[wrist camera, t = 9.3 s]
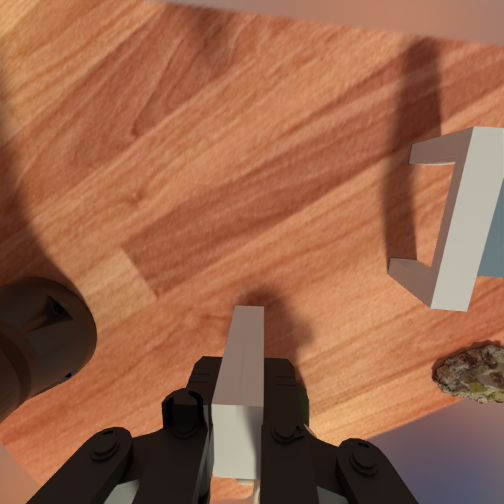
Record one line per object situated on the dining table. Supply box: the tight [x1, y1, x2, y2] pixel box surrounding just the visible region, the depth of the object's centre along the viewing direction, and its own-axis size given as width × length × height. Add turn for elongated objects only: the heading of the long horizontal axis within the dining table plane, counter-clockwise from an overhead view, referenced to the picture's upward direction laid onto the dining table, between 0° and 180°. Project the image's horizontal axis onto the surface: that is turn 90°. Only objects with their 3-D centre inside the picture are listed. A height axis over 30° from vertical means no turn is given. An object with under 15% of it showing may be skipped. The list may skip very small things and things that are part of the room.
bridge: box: [388, 127, 504, 311], centre depth 26 cm, size 3×14×9 cm, turn 176°
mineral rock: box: [433, 345, 504, 404], centre depth 34 cm, size 11×4×8 cm
